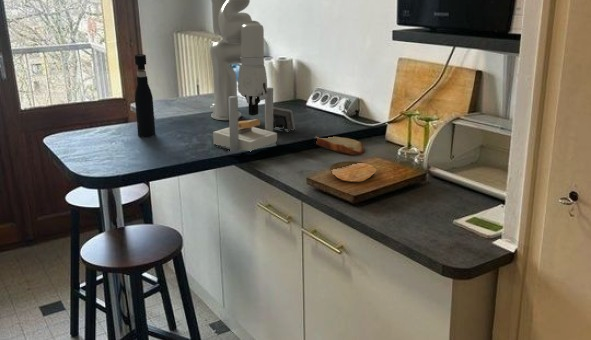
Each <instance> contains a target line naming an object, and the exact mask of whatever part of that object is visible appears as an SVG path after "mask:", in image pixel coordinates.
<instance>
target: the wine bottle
mask: <svg viewBox="0 0 591 340" xmlns="http://www.w3.org/2000/svg"><path fill="white" fill-rule="evenodd" d="M134 62H135V63H134V64H135V65H136V66H137V72H136V75H137V76H136V84H137V85H136V88H135V91H134V92H135V93H134V104H135V115H136V125H137V128H136V129H137V136H138V137H139V138H151V137H155V136H156V123H155V121H156V120H155V111H154V99H153V93H152V90H151V88H150V85H149V81H148V76H147V71H146V65H147V54H142V53H139V54H135V55H134Z"/></svg>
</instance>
